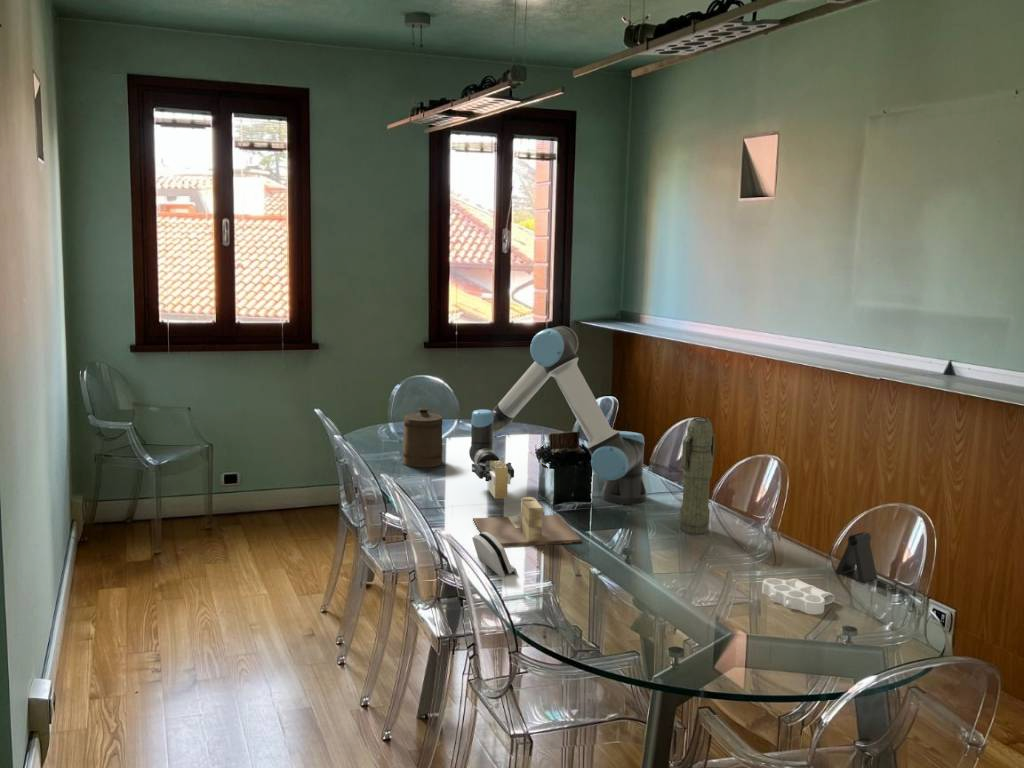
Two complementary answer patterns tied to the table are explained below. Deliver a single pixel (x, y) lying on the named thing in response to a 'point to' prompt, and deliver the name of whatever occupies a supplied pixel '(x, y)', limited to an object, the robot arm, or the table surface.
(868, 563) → the phone stand
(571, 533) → the mounting board
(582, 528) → the table surface
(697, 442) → the stone statue
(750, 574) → the table surface
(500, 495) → the tan wooden brick
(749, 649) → the table surface
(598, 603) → the table surface
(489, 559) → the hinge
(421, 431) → the wooden container
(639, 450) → the robot arm
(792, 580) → the white egg tray
